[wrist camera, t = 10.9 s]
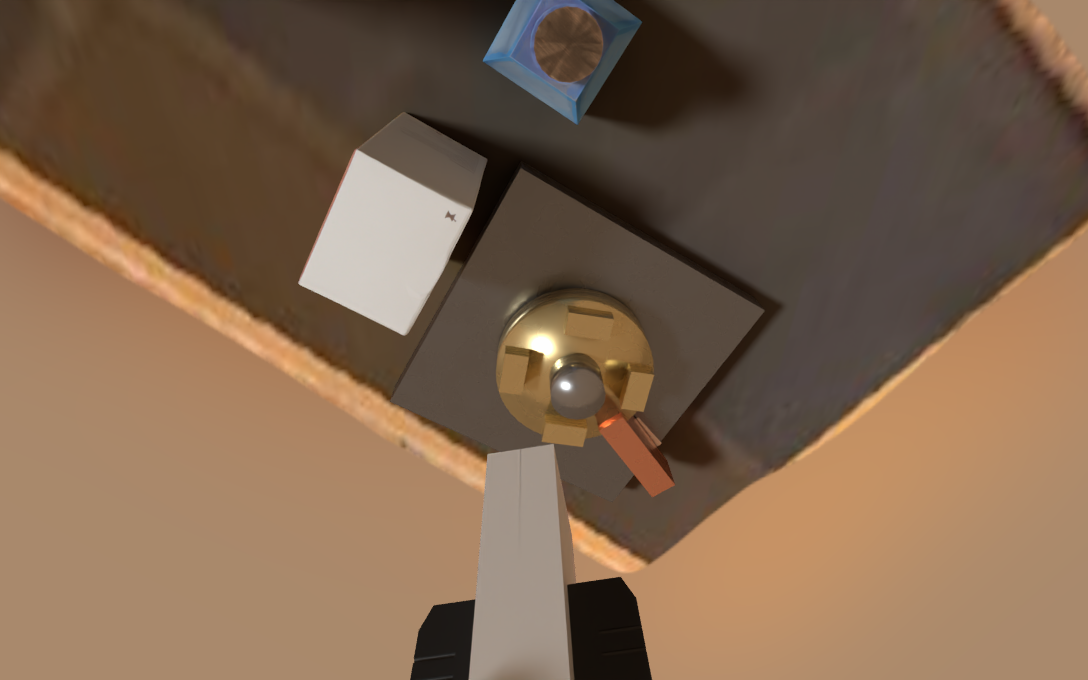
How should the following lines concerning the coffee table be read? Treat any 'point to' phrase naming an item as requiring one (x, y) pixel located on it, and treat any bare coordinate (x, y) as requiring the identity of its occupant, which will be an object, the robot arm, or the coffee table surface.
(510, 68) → the perfume bottle
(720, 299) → the flange plate
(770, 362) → the coffee table surface
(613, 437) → the gold tabbed disc
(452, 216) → the small box
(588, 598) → the robot arm
